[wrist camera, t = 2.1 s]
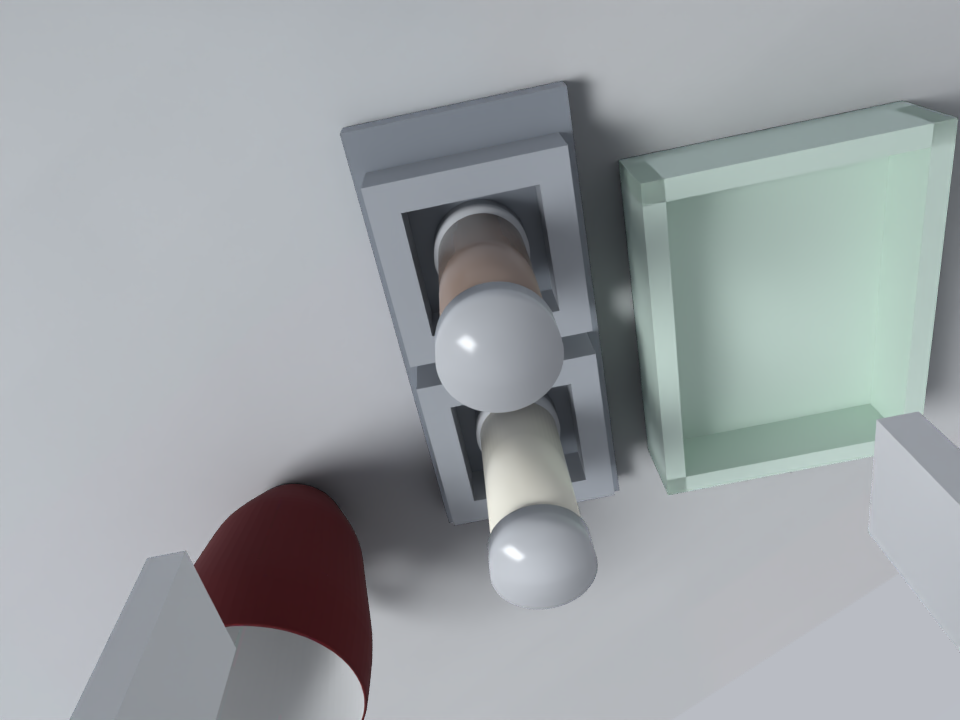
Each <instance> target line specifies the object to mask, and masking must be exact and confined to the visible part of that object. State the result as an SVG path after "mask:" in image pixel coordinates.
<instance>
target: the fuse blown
mask: <svg viewBox="0 0 960 720" xmlns="http://www.w3.org/2000/svg"><path fill="white" fill-rule="evenodd" d="M434 262H435V267H436V270H437V273H438V275H439V308H440V318H439V320H438V323H437V327H436V332H435V364H436V369H437V373H438V376H439V379H440V381H441V383H442V385H443V386H444V387H445V389H446V390H447V391H448V392H449V394H450V395H451V396H452V397H454V398H455V399H456V400H457V401H459V402H460V403H462V404H464V405H466V406H468V407H470V408H472V409H475V410H479V411H483V412H490V413H504V412H511V411H515V410H519V409H521V408H524V407H527V406H529V405H531V404H533V403H534V402H536V401H537V400H539V399H540V398H541V397H543V396H544V395H545V394H546V393H547V392H548V391H549V390H550V389H551V388H552V386H553V385H554V383H555V382H556V380H557V378H558V376H559V375H560V372H561V369H562V365H563V361H564V347H563V342H562V338H561V335H560V332H559V329H558V326H557V323H556V320H555V318H554V315H553V313H552V311H551V309H550V308H549V306H548V305H547V303H546V302H545V301H544V300H543V298H542V295H541V292H540V289H539V286H538V283H537V280H536V277H535V274H534V271H533V267H532V264H531V261H530V247H529V242H528V239H527V236H526V233H525V230H524V228H523V225H522V223H521V221H520V220H519V218H518V217H517V215H516V214H515V213H514V212H513V211H512V210H510V209H509V208H508V207H506V206H505V205H503V204H501V203H498V202H496V201H492V200H486V199H476V200H470V201H466V202H463V203H461V204H459V205H457V206H455V207H454V208H452V209H451V210H450V211H449V212H448V213H447V214H446V215H445V216H444V217H443V218H442V220H441V221H440V223H439V225H438V227H437V229H436V232H435V236H434Z"/></svg>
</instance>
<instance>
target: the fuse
mask: <svg viewBox="0 0 960 720" xmlns="http://www.w3.org/2000/svg"><path fill="white" fill-rule="evenodd" d="M475 426H476V437H477V443H478V446H479V448H480V450H481V451H482V459H483V469H484V478H485V488H486V498H487V507H488V517H489V526H490V536H489V539H488V544H487V550H488V560H489V571H490V579H491V583H492V585H493V587H494V589H495V591H496V592H497V593H498V594H499V595H500V596H501V597H502V598H503V599H505V600H506V601H507V602H509V603H511V604H513V605H516V606H519V607H522V608H527V609H550V608H555V607H559V606H562V605H565V604H567V603H569V602H571V601H573V600H575V599H577V598H578V597H579V596H581V595H582V594H583V593H584V592H585V591H586V590H587V589H588V588H589V587H590V586H591V584H592V583H593V581H594V579H595V577H596V573H597V568H598V563H597V557H596V554H595V550H594V546H593V543H592V539H591V536H590V532H589V529H588V527H587V525H586V523H585V522H584V520H583V519H582V518H581V516H580V512H579V508H578V505H577V501H576V497H575V493H574V490H573V486H572V482H571V478H570V475H569V471H568V467H567V464H566V460H565V456H564V452H563V449H562V445H561V441H560V424H559V420H558V416H557V413H556V409H555V406H554V403H553V401H552V400H551V398H550V397H549V396H548V394H547V393H546V394H545V395H544V396H543V397H541V398H540V399H539V400H537V401H536V402H534V403H533V404H531V405H529V406H527V407H524V408H521V409H519V410H515V411H511V412H504V413H490V412H483V411H479V410H476V414H475Z"/></svg>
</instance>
